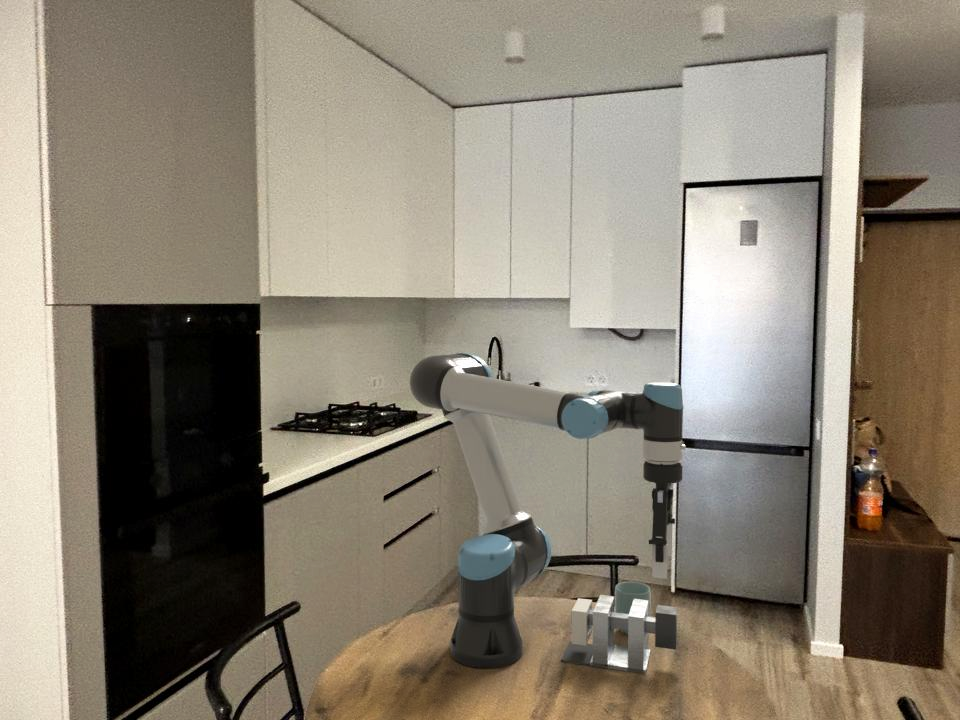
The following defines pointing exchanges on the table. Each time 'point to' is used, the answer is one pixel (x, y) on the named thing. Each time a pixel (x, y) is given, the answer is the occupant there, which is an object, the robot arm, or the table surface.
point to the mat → (578, 654)
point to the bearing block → (603, 638)
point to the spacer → (581, 622)
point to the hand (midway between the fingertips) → (662, 566)
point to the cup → (630, 597)
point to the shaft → (650, 625)
